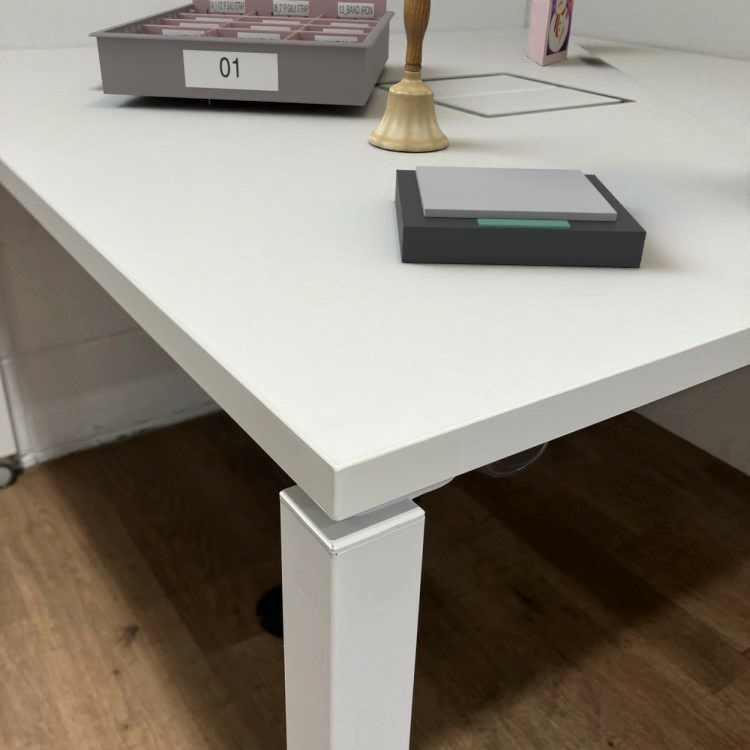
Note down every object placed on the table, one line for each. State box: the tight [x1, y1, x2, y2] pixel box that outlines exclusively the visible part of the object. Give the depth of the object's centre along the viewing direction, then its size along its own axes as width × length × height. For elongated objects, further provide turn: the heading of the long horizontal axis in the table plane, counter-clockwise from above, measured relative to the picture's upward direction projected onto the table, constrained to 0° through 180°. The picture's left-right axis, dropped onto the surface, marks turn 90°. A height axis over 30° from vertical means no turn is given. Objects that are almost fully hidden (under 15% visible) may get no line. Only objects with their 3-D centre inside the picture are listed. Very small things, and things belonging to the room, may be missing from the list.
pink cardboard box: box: [526, 0, 575, 67], centre depth 135 cm, size 11×7×15 cm, turn 148°
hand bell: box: [368, 0, 450, 153], centre depth 80 cm, size 8×8×16 cm
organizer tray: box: [87, 0, 396, 107], centre depth 109 cm, size 32×40×10 cm
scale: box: [394, 165, 647, 268], centre depth 60 cm, size 16×14×3 cm
